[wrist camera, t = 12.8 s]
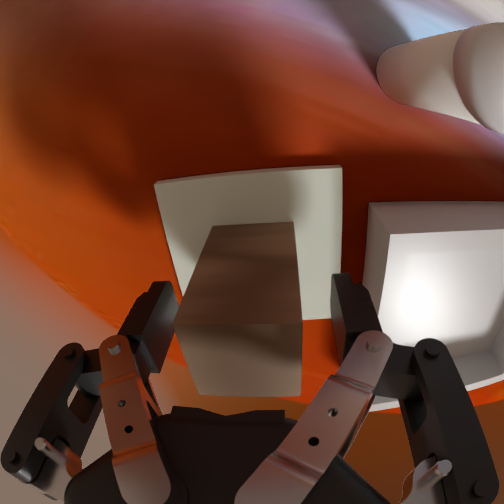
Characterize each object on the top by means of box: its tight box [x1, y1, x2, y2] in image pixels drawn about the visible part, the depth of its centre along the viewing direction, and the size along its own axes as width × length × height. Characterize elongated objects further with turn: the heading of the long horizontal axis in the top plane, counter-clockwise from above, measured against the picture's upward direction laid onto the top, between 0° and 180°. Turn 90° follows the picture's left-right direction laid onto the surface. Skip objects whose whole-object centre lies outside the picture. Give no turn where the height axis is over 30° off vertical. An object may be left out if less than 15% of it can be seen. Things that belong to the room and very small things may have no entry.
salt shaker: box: [376, 23, 504, 134], centre depth 8 cm, size 3×3×8 cm
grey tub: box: [362, 201, 504, 412], centre depth 16 cm, size 14×14×4 cm
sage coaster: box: [154, 165, 342, 320], centre depth 16 cm, size 9×9×1 cm
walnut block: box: [173, 222, 303, 397], centre depth 13 cm, size 4×4×7 cm
